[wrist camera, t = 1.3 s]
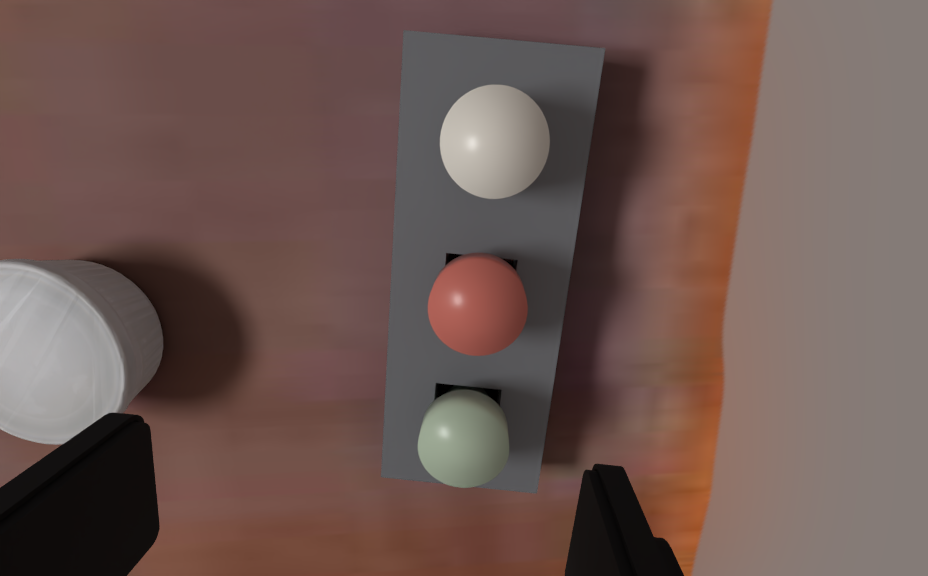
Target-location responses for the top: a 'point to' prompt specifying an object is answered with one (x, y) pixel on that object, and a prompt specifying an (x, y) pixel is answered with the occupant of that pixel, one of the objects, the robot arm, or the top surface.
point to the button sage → (464, 438)
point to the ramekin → (71, 346)
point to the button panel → (483, 239)
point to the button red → (477, 304)
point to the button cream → (494, 141)
